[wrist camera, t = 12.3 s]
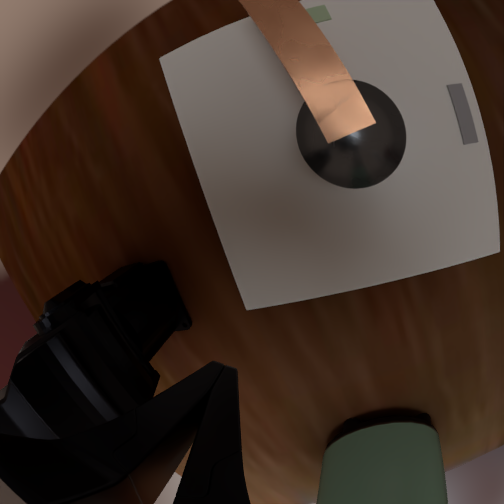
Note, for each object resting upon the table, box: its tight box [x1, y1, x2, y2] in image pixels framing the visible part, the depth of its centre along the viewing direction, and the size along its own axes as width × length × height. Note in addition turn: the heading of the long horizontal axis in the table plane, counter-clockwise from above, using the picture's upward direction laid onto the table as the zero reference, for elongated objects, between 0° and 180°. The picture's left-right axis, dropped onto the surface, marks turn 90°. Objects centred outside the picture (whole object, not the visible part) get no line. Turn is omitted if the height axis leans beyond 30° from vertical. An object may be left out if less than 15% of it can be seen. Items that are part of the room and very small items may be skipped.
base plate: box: [159, 0, 500, 310], centre depth 17 cm, size 20×20×1 cm
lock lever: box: [238, 0, 406, 189], centre depth 13 cm, size 12×5×5 cm, turn 29°
